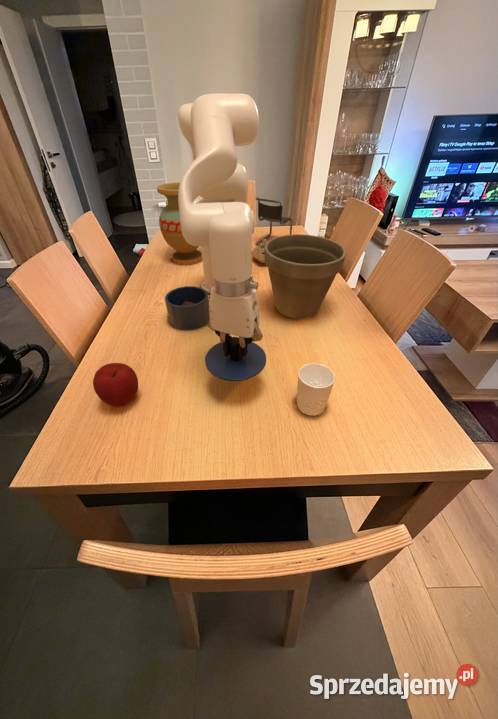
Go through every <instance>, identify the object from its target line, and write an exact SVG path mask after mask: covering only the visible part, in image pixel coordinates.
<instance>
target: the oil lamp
mask: <svg viewBox="0 0 498 719" xmlns="http://www.w3.org/2000/svg"><path fill="white" fill-rule="evenodd" d="M262 239H263V238H262ZM267 242H268V239H263V241H262V242H261V243H259V244H260V245H257V246H256V247H254V248H253V249H252V257H253V258H254V259H255V260H256V261H257V262H259V263H261V264H265V252H264V249H265V244H266V243H267Z"/></svg>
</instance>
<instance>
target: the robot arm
mask: <svg viewBox="0 0 498 719" xmlns="http://www.w3.org/2000/svg"><path fill="white" fill-rule="evenodd" d="M177 118H178V124H179V128H180V131H181V133H182V135H183V137H184V138H185V140H186V141H187V142H188V144H189V146H190V149H191V153H192V160H193V161H192V162H191V163H190V164H189V166H188V167H187V168H186V169H185V172H184V173H183V175H182V177H181V180H180V181H179V182H180V185H179V190H178V205H179V215H180V225H181V231H182V234H183V237H184V239H185V240H186V242H187V243H189V244H190V245H192V246H199V247H200V250H201V251H200V252H201V253H202V260H201V261H202V269H203V277H204V280H203V281H202V282H201V285H200V288H202V289H204V290H206V291H207V293H208V294H210V295H209V312H210V320H209V322H208V323H207V324H206V325H207V326H206V327H207V328H208V329H210V330H211V331H213V332H214V333H215V334H216V336H217V337H218V338H219V341H220V342H222V343H223V350H224V354H225V356H226V357H227V356H229V354H230V353H229V339H230V338H232V337H233V336H235V337H239V341H240V345H239V346H238V359H239V360H240V361H241V360H242V359H243V357H244V356H246V355H247V353H248V344H250V343H251V342H253V343H255V342H260V341H261V340H262V339H263V337H264V336H263V332H262V331H261V329H260V323H261V322H260V306H259V301H258V300H259V299H258V293H257V291H256V290H258V289H259V283H258V282H256V281H254V276H253V275H252V274H253V273H252V267H253V266H252V265H253V264H252V262H253V260H252V259H253V258H252V257H253V256H252V250H253V249H252V247H253V246H252V245H253V242H252V240H253V239H252V238H253V234H254V232H255V226H256V225H255V224H256V223H255V222H256V221H255V214H254V211H253V210H252V209H251V207H250V205H249V204H248V195H249V194H248V193H249V178H248V172H247V170H246V167H245V166H244V165H243V164H241V163H238V156H237V149H236V147H245V146H248V145H251V144H253V143H254V142H255V141H256V139H257V138H258V133H259V128H260V116H259V110H258V107H257V103H256V101H255V100H254V99H253V97H252V96H251V95H249V94H247V93H216V92H215V93H206V94H202V95H200V96H198V97H197V98H196V99H194V101H193V102H189V103H184V104H182V105H181V106H180V107H179V109H178V113H177ZM198 197H200V198H201V199H199V200H197V201H196V203H194V202H195V200H196V199H197V198H198Z"/></svg>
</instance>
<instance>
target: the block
mask: <svg viewBox="0 0 498 719" xmlns="http://www.w3.org/2000/svg"><path fill="white" fill-rule="evenodd" d="M193 304H196V303H192V302H187V301H186V302H184V303H183V304H182V305H181V306H188V305H193Z"/></svg>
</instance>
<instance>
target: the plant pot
mask: <svg viewBox="0 0 498 719" xmlns="http://www.w3.org/2000/svg"><path fill="white" fill-rule="evenodd" d="M264 252H265V263H264V264H265V266H266V268H267V270H268V275H269V280H270V285H271V289H272V295H273V298H274V303H275V307H276V310H277V312H278V313H279V314H281V315H282V316H284V317H287V318H290V319H294V320H295V319H297V320H302V319H309V318H311V317H313V316H315V315H316V314H317V313H318V312H319V310H320V308H321V306H322V304H323V302H324V300H325V298H326V297H327V294H328V292H329V291H330V289H331V287H332V284H333V282H334V280H335V279H336V276H337V275H338V274H339V273H340V272H341V271H342V270H343V266H344V262H345V260H346V255H347V250H346V249H345V247H344V246H343V245H342V244H340V243H339V242H337V241H335V240H332V239H330V238H327V237H323V236H317V235H314V234H312V235H311V234H303V233H302V234H299V233H297V234H291V235H289V234H284V235H279V236H276V237H273V238H271V239H269V240H267V243H266V244H265V249H264Z"/></svg>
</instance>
